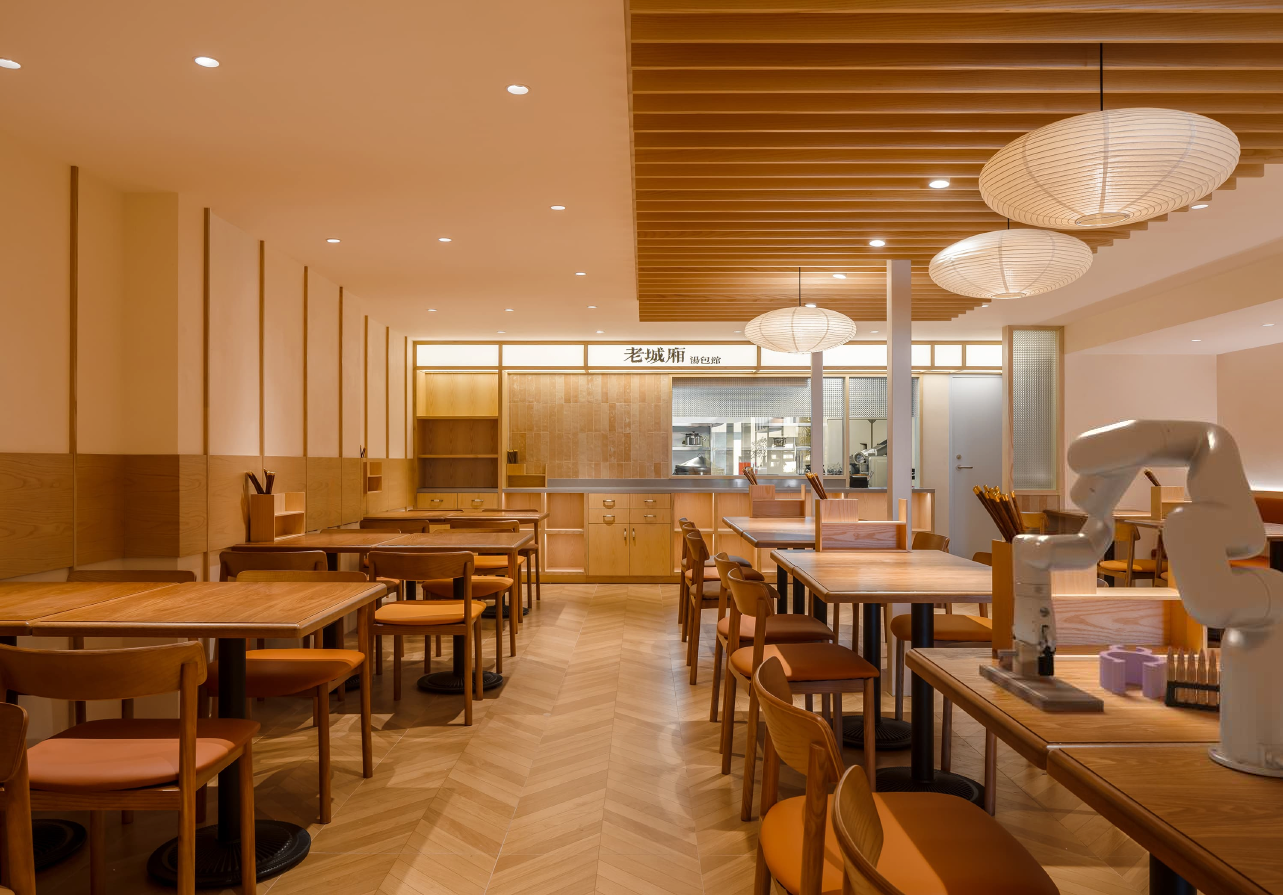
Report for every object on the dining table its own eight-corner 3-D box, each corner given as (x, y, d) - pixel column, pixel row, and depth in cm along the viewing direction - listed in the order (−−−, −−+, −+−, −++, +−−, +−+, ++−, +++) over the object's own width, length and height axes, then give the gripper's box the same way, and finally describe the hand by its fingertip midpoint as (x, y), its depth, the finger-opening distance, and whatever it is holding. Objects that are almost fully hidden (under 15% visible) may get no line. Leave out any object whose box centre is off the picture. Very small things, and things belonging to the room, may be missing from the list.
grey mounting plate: (1103, 711, 160) (1103, 685, 160) (1043, 710, 159) (1043, 684, 159) (1030, 674, 188) (1030, 652, 188) (979, 673, 187) (979, 651, 187)
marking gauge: (1048, 676, 178) (1048, 643, 178) (1003, 675, 178) (1003, 643, 178) (1039, 671, 182) (1039, 639, 182) (994, 671, 182) (994, 639, 182)
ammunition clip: (1165, 706, 164) (1165, 645, 164) (1164, 703, 165) (1164, 644, 166) (1230, 713, 159) (1230, 651, 159) (1228, 711, 161) (1228, 649, 161)
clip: (1098, 672, 191) (1098, 642, 191) (1161, 680, 185) (1161, 649, 185) (1100, 693, 173) (1100, 660, 173) (1170, 702, 167) (1170, 668, 167)
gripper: (1071, 595, 171) (1073, 679, 170) (1029, 586, 188) (1031, 662, 187) (1036, 595, 171) (1038, 679, 170) (996, 586, 188) (998, 662, 187)
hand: (1034, 670), depth 178 cm, fingers open, 9 cm apart
